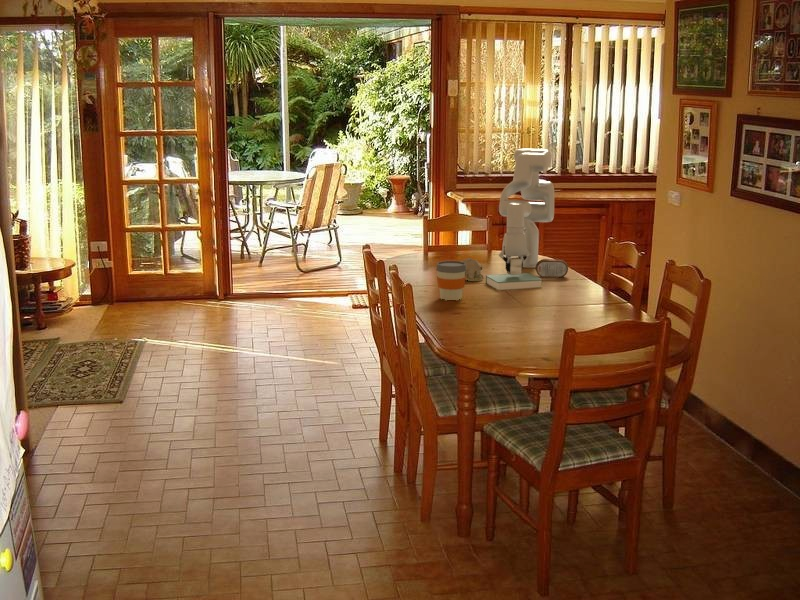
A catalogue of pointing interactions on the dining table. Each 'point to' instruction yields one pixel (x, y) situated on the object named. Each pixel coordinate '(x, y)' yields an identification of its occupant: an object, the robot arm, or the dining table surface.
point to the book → (513, 281)
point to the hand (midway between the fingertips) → (514, 270)
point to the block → (515, 266)
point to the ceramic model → (472, 270)
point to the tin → (551, 268)
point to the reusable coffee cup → (451, 279)
